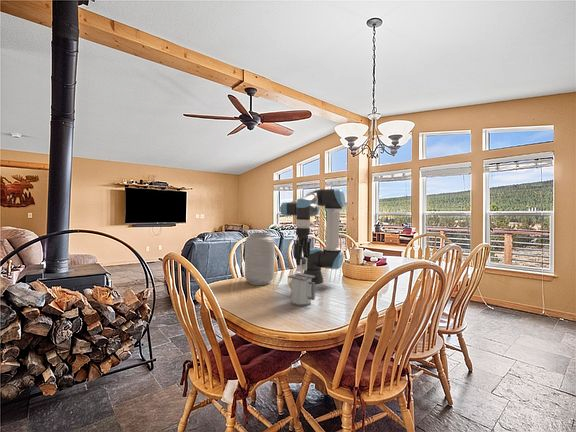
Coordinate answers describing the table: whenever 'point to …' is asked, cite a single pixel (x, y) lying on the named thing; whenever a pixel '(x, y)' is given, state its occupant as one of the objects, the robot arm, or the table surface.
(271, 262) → the vase
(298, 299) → the grey french press
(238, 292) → the table surface
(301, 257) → the plunger
